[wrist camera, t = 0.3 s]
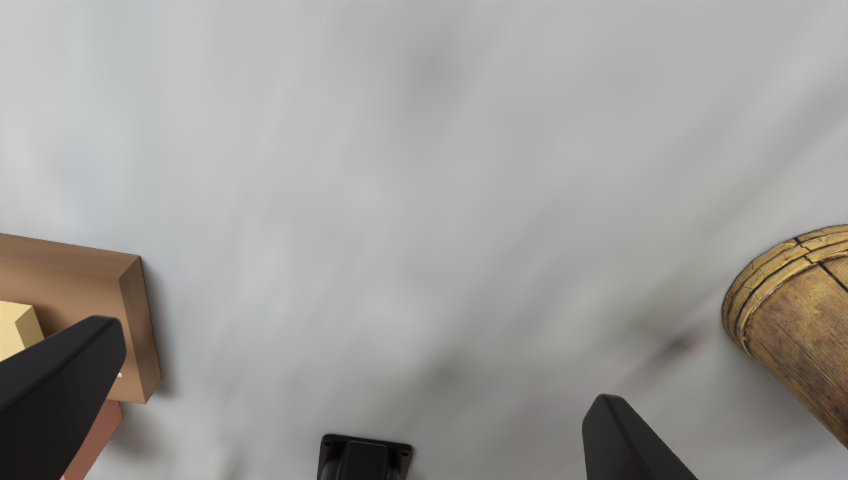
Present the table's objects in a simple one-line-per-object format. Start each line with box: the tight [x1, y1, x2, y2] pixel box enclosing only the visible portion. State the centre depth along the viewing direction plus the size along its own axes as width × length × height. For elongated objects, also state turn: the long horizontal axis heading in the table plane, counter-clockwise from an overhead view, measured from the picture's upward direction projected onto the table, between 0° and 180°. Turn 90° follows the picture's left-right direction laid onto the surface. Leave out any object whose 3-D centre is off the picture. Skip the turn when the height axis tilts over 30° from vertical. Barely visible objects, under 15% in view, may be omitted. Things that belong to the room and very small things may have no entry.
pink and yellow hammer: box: [0, 301, 123, 480], centre depth 27 cm, size 13×4×6 cm, turn 169°
